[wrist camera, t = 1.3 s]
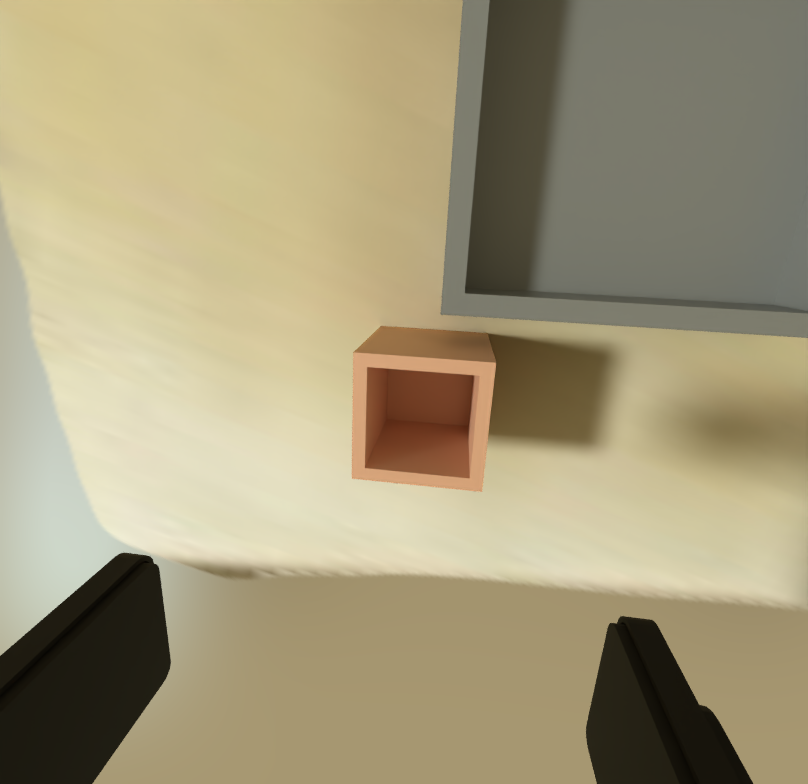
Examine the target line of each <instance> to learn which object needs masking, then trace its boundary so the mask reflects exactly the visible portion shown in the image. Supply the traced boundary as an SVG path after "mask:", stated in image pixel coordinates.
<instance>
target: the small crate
mask: <svg viewBox="0 0 808 784" xmlns="http://www.w3.org/2000/svg"><path fill="white" fill-rule="evenodd" d="M495 369H496V360H495V357H494V354H493V350H492V347H491V343H490V340H489V336H488V333H476V332H461V331H446V330H432V329H417V328H402V327H387V326H381V327H380V328H379V329H377V330H376V331H375V332H374V333H373V334H372V335H371V336H370V337H369V338H368V339H367V340H366V341H365V342H364V343H363V344H362V345H361V346H360V347H359V348H358V349H356V350H355V351H354V352H353V427H352V479H362V480H372V481H382V482H391V483H401V484H411V485H421V486H431V487H440V488H450V489H460V490H470V491H480V492H482V487H483V478H484V469H485V460H486V451H487V442H488V432H489V423H490V414H491V405H492V396H493V387H494V378H495Z"/></svg>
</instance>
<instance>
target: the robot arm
mask: <svg viewBox="0 0 808 784" xmlns="http://www.w3.org/2000/svg"><path fill="white" fill-rule="evenodd" d="M170 664H171V660H170V652H169V643H168V635H167V627H166V620H165V612H164V604H163V596H162V588H161V580H160V572H159V567H158V566H157V565H156V564H154V563H153V559H152V558H151V557H150V556H146V555H138V554H131V553H121V554H119V555H117V556H116V557H115V558H113V559H112V560H111V561H110V562H109V563H108V564H106V565H105V566H104V567H103V568H102V569H101V570H99V571H98V572H97V573H96V574H95V575H94V576H92V577H91V578H90V579H89V580H88V581H87V582H85V583H84V584H83V585H82V586H81V587H80V588H78V589H77V591H75V592H74V593H73V594H72V595H70V597H68V598H67V599H66V600H65V601H63V602H62V603H61V604H60V605H59V606H58V607H57V608H55V609H54V610H53V611H52V612H51V613H50V614H48V615H47V616H46V617H45V618H44V619H43V620H41V621H40V622H39V623H38V624H37V625H36V626H35V627H33V628H32V629H31V630H30V631H29V632H28V633H26V634H25V635H24V636H23V637H22V638H21V639H19V640H18V641H17V642H16V643H15V644H14V645H12V646H11V647H10V648H9V649H8V650H7V651H6V652H4V653H3V654H2V655H1V656H0V784H92V783H93V782H94V780H95V779H96V777H97V776H98V775H99V773H100V772H101V771H102V769H103V768H104V766H105V765H106V763H107V762H108V761H109V759H110V758H111V756H112V755H113V753H114V752H115V750H116V749H117V748H118V746H119V745H120V743H121V742H122V741H123V739H124V738H125V736H126V735H127V734H128V732H129V731H130V729H131V728H132V726H133V725H134V724H135V722H136V721H137V719H138V718H139V716H140V715H141V713H142V712H143V711H144V709H145V708H146V706H147V705H148V704H149V702H150V701H151V699H152V698H153V697H154V695H155V694H156V692H157V691H158V690H159V688H160V687H161V685H162V684H163V682H164V681H165V679H166V677H167V675H168V672H169V669H170ZM586 738H587V745H588V750H589V754H590V758H591V762H592V766H593V770H594V774H595V778H596V781H597V784H753V782H752V780H751V779H750V777H749V775H748V773H747V771H746V770H745V768H744V766H743V764H742V762H741V761H740V759H739V757H738V755H737V753H736V751H735V750H734V748H733V746H732V744H731V742H730V740H729V739H728V737H727V735H726V733H725V731H724V729H723V728H722V726H721V724H720V722H719V721H718V719H717V718H716V716H715V715H714V713H713V712H712V711H711V710H710V709H708V708H707V707H705V706H702V705H699V704H698V702H697V700H696V698H695V696H694V694H693V692H692V690H691V689H690V687H689V685H688V683H687V681H686V679H685V677H684V675H683V673H682V671H681V669H680V667H679V666H678V664H677V662H676V660H675V658H674V656H673V654H672V653H671V651H670V649H669V647H668V645H667V643H666V641H665V639H664V637H663V635H662V633H661V632H660V630H659V628H658V626H657V624H656V623H655V622H654V621H653V620H647V619H640V618H632V617H624V616H622V617H620V618H619V620H618V622H617V624H615V623H610V624H609V626H608V629H607V634H606V639H605V643H604V648H603V652H602V657H601V661H600V666H599V670H598V675H597V680H596V684H595V689H594V693H593V698H592V702H591V707H590V711H589V716H588V721H587V726H586Z"/></svg>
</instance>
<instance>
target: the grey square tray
mask: <svg viewBox="0 0 808 784" xmlns="http://www.w3.org/2000/svg"><path fill="white" fill-rule="evenodd" d="M441 314H442V315H458V316H473V317H489V318H505V319H520V320H536V321H552V322H567V323H583V324H599V325H614V326H630V327H646V328H661V329H677V330H693V331H708V332H724V333H740V334H755V335H771V336H787V337H802V338H808V0H463V7H462V21H461V35H460V49H459V63H458V77H457V92H456V106H455V120H454V134H453V148H452V162H451V177H450V191H449V205H448V219H447V233H446V247H445V261H444V276H443V290H442V304H441Z"/></svg>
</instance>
